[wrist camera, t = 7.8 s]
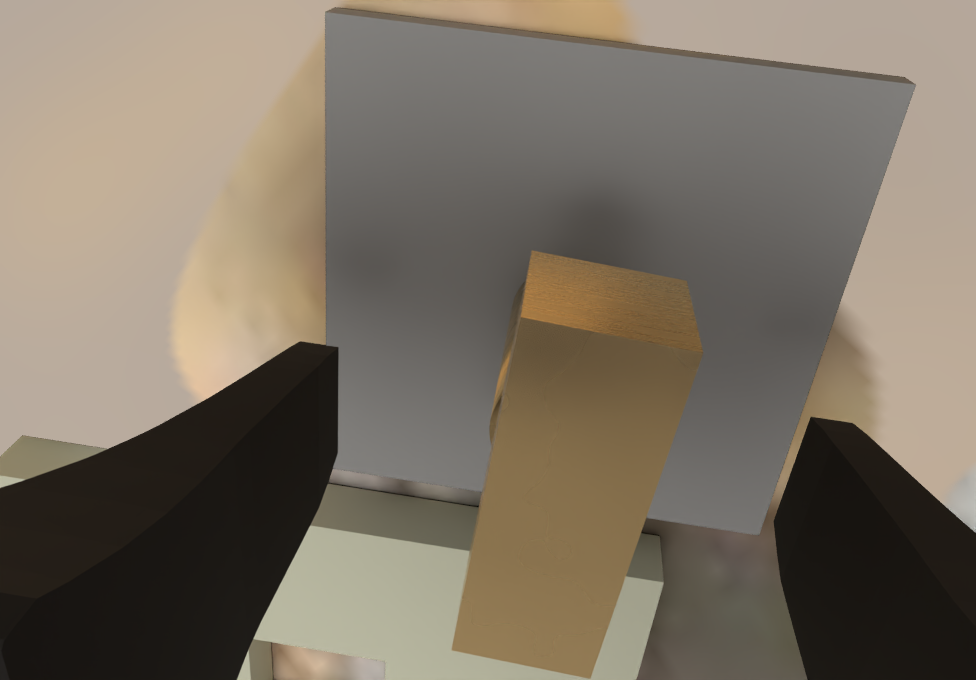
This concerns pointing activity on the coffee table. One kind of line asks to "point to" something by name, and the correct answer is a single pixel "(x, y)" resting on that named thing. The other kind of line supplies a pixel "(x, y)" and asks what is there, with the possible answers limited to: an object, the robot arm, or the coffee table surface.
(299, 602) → the plate
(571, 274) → the t key
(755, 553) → the coffee table surface
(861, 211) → the felt pad
